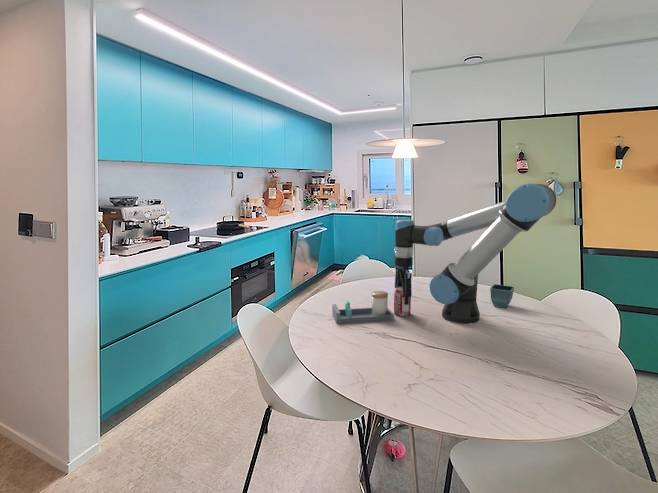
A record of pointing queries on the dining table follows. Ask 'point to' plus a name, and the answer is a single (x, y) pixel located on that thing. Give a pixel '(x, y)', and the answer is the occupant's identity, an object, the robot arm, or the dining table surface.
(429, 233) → the robot arm
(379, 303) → the jar
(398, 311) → the soda can
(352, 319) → the lane
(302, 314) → the dining table surface
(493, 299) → the flower pot
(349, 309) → the pusher
